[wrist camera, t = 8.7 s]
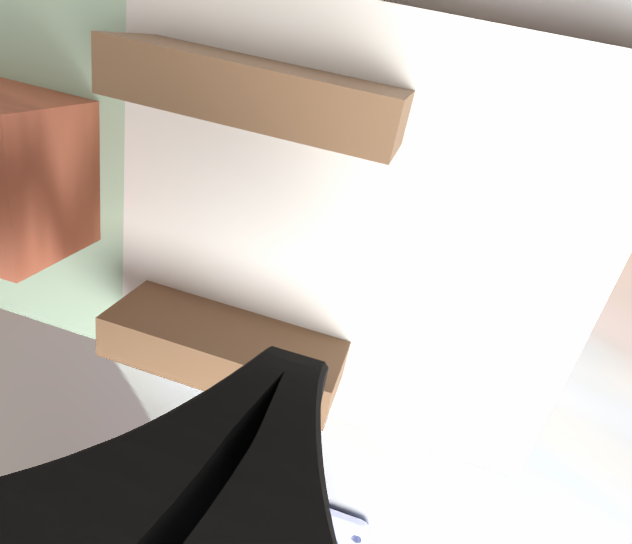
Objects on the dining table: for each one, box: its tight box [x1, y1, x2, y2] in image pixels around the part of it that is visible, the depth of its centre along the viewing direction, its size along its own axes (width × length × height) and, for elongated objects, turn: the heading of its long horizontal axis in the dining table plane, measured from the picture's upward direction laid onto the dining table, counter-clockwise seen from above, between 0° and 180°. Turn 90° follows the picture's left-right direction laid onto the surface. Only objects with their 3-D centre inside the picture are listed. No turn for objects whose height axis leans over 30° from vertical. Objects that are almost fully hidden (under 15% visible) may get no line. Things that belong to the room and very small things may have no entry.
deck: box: [0, 0, 632, 478], centre depth 18 cm, size 14×33×6 cm, turn 80°
